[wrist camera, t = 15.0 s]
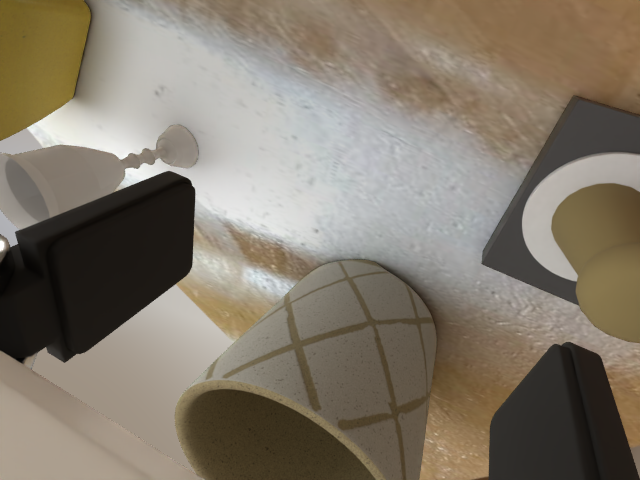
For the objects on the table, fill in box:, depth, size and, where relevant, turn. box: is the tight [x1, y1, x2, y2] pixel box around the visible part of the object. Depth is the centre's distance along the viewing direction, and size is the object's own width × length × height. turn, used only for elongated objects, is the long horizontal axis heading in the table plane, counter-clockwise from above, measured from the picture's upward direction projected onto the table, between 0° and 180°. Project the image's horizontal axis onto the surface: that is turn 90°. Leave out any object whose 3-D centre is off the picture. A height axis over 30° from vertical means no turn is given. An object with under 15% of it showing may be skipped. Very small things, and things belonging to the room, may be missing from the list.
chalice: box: [0, 125, 198, 230], centre depth 36 cm, size 7×7×18 cm
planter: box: [175, 259, 437, 480], centre depth 35 cm, size 19×19×20 cm
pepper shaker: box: [551, 183, 640, 343], centre depth 22 cm, size 6×6×11 cm
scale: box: [481, 95, 640, 306], centre depth 28 cm, size 14×13×3 cm
